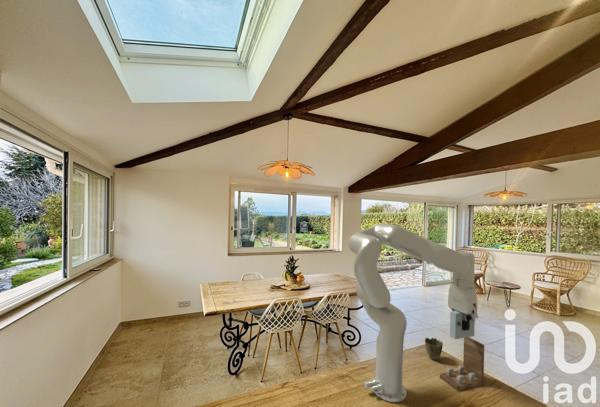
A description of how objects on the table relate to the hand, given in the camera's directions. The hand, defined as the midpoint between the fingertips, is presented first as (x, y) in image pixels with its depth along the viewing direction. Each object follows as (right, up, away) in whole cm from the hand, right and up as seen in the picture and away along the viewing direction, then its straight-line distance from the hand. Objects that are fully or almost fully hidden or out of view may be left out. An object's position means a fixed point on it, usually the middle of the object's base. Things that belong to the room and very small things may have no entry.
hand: (462, 327), depth 107 cm
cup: (-4, -22, +15) cm, 27 cm away
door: (0, -3, 0) cm, 3 cm away
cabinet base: (-1, -21, 0) cm, 21 cm away
